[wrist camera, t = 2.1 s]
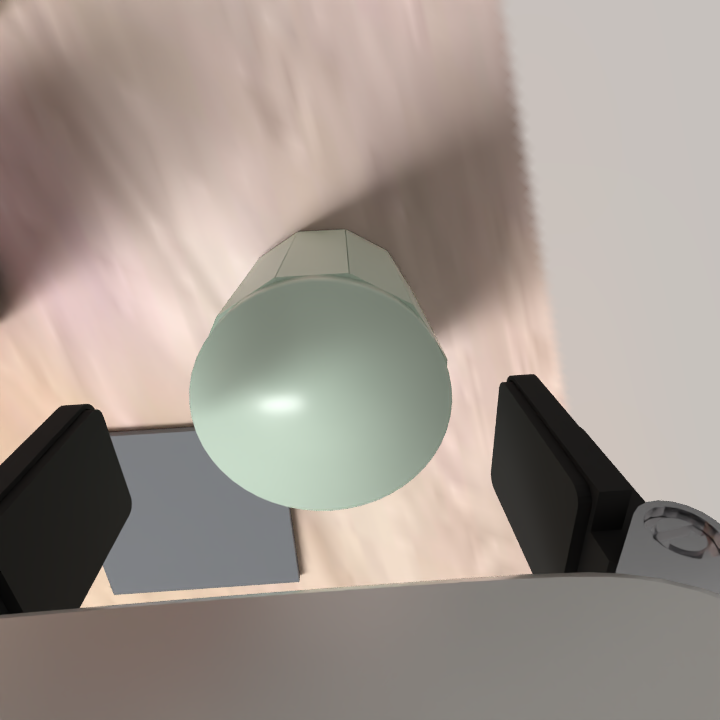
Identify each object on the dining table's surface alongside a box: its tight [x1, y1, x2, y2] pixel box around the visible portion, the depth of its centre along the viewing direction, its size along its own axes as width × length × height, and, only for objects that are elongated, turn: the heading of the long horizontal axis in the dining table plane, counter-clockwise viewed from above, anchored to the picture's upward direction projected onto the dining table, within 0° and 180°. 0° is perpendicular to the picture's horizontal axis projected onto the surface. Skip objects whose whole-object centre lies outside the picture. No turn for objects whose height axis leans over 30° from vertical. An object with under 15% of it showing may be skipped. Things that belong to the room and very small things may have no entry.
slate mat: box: [103, 427, 300, 595], centre depth 25 cm, size 11×11×1 cm
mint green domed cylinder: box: [189, 229, 452, 511], centre depth 17 cm, size 8×8×8 cm
